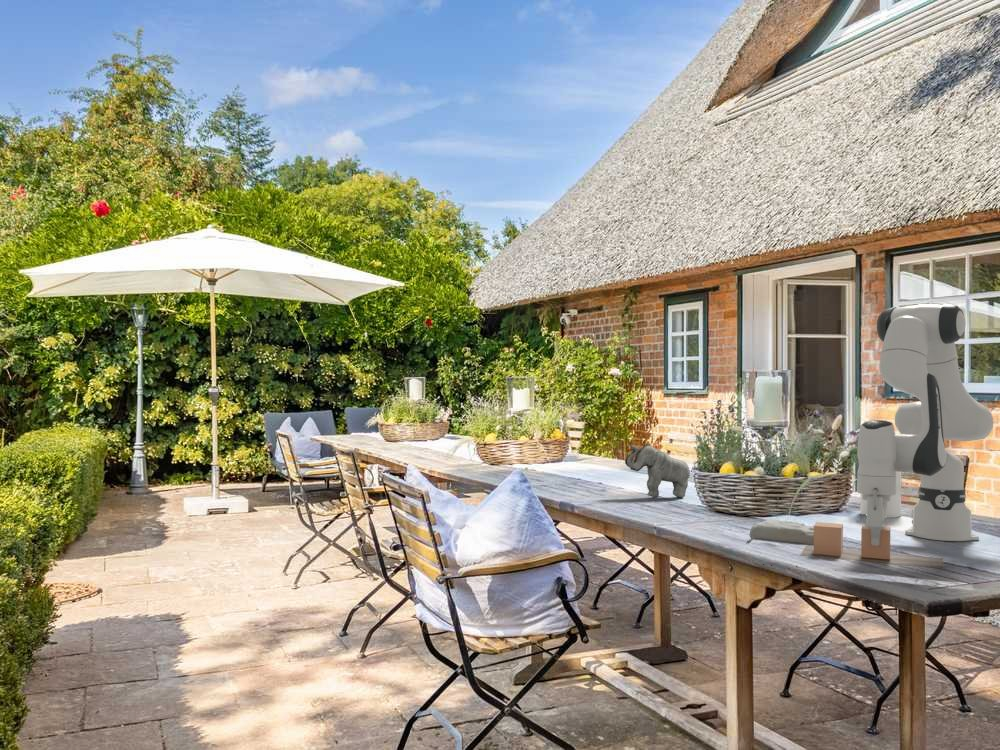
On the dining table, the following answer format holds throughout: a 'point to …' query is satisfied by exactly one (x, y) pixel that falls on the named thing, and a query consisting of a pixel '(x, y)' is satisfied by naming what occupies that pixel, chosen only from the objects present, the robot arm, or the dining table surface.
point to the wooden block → (871, 550)
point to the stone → (783, 531)
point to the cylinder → (892, 505)
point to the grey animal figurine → (660, 469)
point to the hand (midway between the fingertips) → (875, 542)
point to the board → (894, 559)
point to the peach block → (828, 538)
